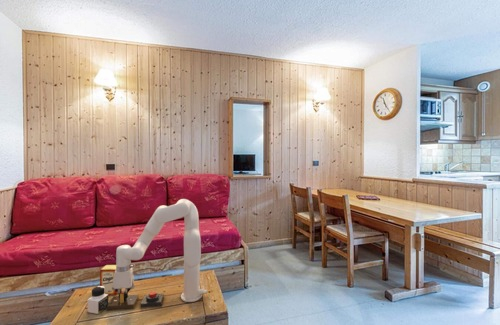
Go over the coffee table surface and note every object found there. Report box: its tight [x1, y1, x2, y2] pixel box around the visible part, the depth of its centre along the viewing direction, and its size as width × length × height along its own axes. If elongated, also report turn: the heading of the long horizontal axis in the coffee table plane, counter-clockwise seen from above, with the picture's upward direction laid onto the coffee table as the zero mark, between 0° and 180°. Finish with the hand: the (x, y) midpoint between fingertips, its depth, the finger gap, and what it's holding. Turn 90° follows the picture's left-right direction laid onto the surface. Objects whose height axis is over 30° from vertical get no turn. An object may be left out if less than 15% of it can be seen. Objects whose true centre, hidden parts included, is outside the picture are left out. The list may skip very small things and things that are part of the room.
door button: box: [148, 291, 157, 298], centre depth 145 cm, size 4×4×2 cm
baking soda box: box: [99, 264, 118, 296], centre depth 155 cm, size 10×6×16 cm
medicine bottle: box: [87, 285, 109, 315], centre depth 137 cm, size 7×7×12 cm
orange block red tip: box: [120, 288, 125, 303], centre depth 142 cm, size 6×2×5 cm, turn 10°
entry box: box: [140, 292, 165, 308], centre depth 145 cm, size 11×9×4 cm
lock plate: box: [105, 294, 140, 312], centre depth 142 cm, size 14×10×3 cm
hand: (123, 299), depth 142 cm, fingers closed on orange block red tip
